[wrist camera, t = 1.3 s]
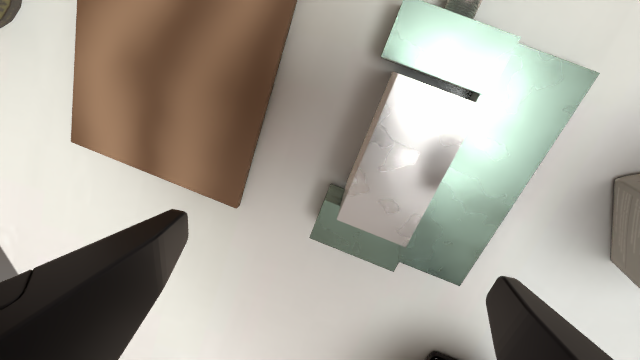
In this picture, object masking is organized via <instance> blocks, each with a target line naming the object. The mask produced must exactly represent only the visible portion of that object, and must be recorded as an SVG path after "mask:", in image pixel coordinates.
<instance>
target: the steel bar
mask: <svg viewBox="0 0 640 360" xmlns="http://www.w3.org/2000/svg"><path fill="white" fill-rule="evenodd" d="M481 107H482V105H480V104H478V103H475V102H472V101H470V100H467V99H464V98H462V97H459V96H457V95H454V94H451V93H449V92H446V91H443V90H441V89H438V88H435V87H433V86H430V85H427V84H425V83H422V82H420V81H417V80H414V79H412V78H409V77H406V76H404V75H401V74H398V73H396V72H392V74H391V76H390V79H389V81H388V84H387V86H386V88H385V91H384V93H383V96H382V98H381V100H380V103H379V105H378V108H377V110H376V112H375V115H374V117H373V120H372V122H371V125H370V127H369V129H368V132H367V134H366V137H365V139H364V141H363V144H362V146H361V149H360V151H359V153H358V156H357V158H356V161H355V163H354V165H353V168H352V170H351V173H350V175H349V177H348V180H347V182H346V186H345V190H344V193H343V197H342V201H341V205H340V208H339V212H338V216H337V220H339V221H341V222H344V223H346V224H349V225H351V226H354V227H356V228H359V229H361V230H364V231H366V232H369V233H371V234H374V235H376V236H379V237H381V238H384V239H386V240H389V241H391V242H394V243H396V244H399V245H401V246H404V247H406V246H407V244H408V242H409V240H410V238H411V237H412V235H413V233H414V231H415V229H416V227H417V225H418V224H419V222H420V220H421V218H422V216H423V214H424V213H425V211H426V209H427V207H428V205H429V203H430V201H431V200H432V198H433V196H434V194H435V192H436V190H437V189H438V187H439V185H440V183H441V181H442V179H443V177H444V176H445V174H446V172H447V170H448V168H449V166H450V165H451V163H452V161H453V159H454V157H455V155H456V153H457V152H458V150H459V148H460V146H461V144H462V142H463V141H464V139H465V137H466V135H467V133H468V131H469V129H470V128H471V126H472V124H473V122H474V120H475V118H476V116H477V115H478V113H479V111H480V109H481Z"/></svg>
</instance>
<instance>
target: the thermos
mask: <svg viewBox="0 0 640 360" xmlns="http://www.w3.org/2000/svg"><path fill="white" fill-rule="evenodd" d="M21 1H22V0H0V28H1V27H3V26H5V25H6V24H8V23H9V22H11V21H12V20H13V18H14V17H15V15H16V13H17V12H18V10H19V9H20V6H21Z"/></svg>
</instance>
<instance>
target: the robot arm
mask: <svg viewBox="0 0 640 360" xmlns="http://www.w3.org/2000/svg"><path fill="white" fill-rule="evenodd" d="M187 240H188V216H187V213H186V212H184V211H180V210H175V209H171V210H169V211H166V212H164V213H162V214H159V215H157V216H155V217H152V218H150V219H148V220H145V221H143V222H141V223H138V224H136V225H134V226H131V227H129V228H127V229H124V230H122V231H120V232H117V233H115V234H113V235H110V236H108V237H106V238H103V239H101V240H99V241H96V242H94V243H92V244H89V245H87V246H85V247H82V248H80V249H78V250H75V251H73V252H71V253H68V254H66V255H64V256H61V257H59V258H57V259H54V260H52V261H50V262H47V263H45V264H43V265H40V266H38V267H36V268H34V269H33V270H28V271H26V272H24V273H21V274H19V275H17V276H15V277H12V278H10V279H7V280H5V281H2V282H0V360H118V359H119V358H120V356H121V355H122V353H123V351H124V350H125V348H126V347H127V345H128V344H129V342H130V341H131V339H132V337H133V336H134V334H135V333H136V331H137V330H138V328H139V327H140V325H141V323H142V322H143V320H144V319H145V317H146V316H147V314H148V312H149V311H150V309H151V308H152V306H153V305H154V303H155V302H156V300H157V298H158V297H159V295H160V294H161V292H162V290H163V289H164V287H165V285H166V283H167V281H168V279H169V277H170V275H171V273H172V271H173V269H174V267H175V265H176V263H177V261H178V259H179V257H180V255H181V253H182V251H183V249H184V247H185V245H186V242H187ZM486 307H487V312H488V317H489V323H490V328H491V333H492V339H493V344H494V349H495V354H496V358H497V360H613V359H612V358H611V357H610V356H609V355H607V354H606V353H605V352H604V351H603V350H601V349H600V348H599V347H598V346H597V345H595V344H594V343H593V342H592V341H590V340H589V339H588V338H587V337H586V336H584V335H583V334H582V333H581V332H580V331H578V330H577V329H576V328H575V327H574V326H572V325H571V324H570V323H569V322H568V321H566V320H565V319H564V318H563V317H562V316H560V315H559V314H558V313H557V312H556V311H554V310H553V309H552V308H551V307H550V306H548V305H547V304H546V303H545V302H544V301H542V300H541V299H540V298H539V297H538V296H536V295H535V294H534V293H533V292H532V291H530V290H529V289H528V288H527V287H526V286H524V285H523V284H522V283H521V282H520V281H518V280H517V279H515V278H510V277H506V276H500V277H499V278H497V280H496V281H495V283H494V285H493V286H492V288H491V290H490V291H489V293H488V294H487V297H486ZM435 358H437V359H435ZM426 360H455V359H453V358H451V357H448V356H446V355H443V354H441V353H438V352H432V353H431V354H430V355H429V356H428V358H427V359H426Z"/></svg>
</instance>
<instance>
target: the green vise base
mask: <svg viewBox="0 0 640 360" xmlns="http://www.w3.org/2000/svg"><path fill="white" fill-rule="evenodd" d="M481 2H482V0H448V2H447V4H446V6H445V8H444V9H443V8H440V7H438V6H435V5H432V4H429V3H427V2H424V1H421V0H403V2H402V5H401V7H400V10H399V12H398V15H397V17H396V20H395V23H394V25H393V28H392V30H391V33H390V35H389V38H388V40H387V43H386V45H385V48H384V50H383V53H382V55H381V58H383V59H386V60H389V61H391V62H394V63H397V64H399V65H402V66H405V67H407V68H410V69H413V70H415V71H418V72H420V73H423V74H426V75H428V76H431V77H434V78H436V79H439V80H442V81H444V82H447V83H450V84H452V85H455V86H458V87H460V88H463V89H466V90H468V91H471V92H473V93H472V95H471V97H470V99H469V100H470V101H472V102H475V103H478V104H480V105H482V107H481V109H480V111H479V113H478V115H477V116H476V118H475V120H474V122H473V124H472V126H471V128H470V129H469V131H468V133H467V135H466V137H465V139H464V141H463V142H462V144H461V146H460V148H459V150H458V152H457V153H456V155H455V157H454V159H453V161H452V163H451V165H450V166H449V168H448V170H447V172H446V174H445V176H444V177H443V179H442V181H441V183H440V185H439V187H438V189H437V190H436V192H435V194H434V196H433V198H432V200H431V201H430V203H429V205H428V207H427V209H426V211H425V213H424V214H423V216H422V218H421V220H420V222H419V224H418V225H417V227H416V229H415V231H414V233H413V235H412V237H411V238H410V240H409V242H408V244H407V246H406V247H404V246H401V245H399V244H396V243H394V242H391V241H389V240H386V239H384V238H381V237H379V236H376V235H374V234H371V233H369V232H366V231H364V230H361V229H359V228H356V227H354V226H351V225H349V224H346V223H344V222H341V221H339V220H337V216H338V212H339V208H340V205H341V201H342V197H343V193H344V190H345V189H343V188H340V187H338V186H335V185H333V184H331V185H330V187H329V190H328V192H327V195H326V197H325V200H324V202H323V205H322V207H321V210H320V212H319V215H318V217H317V220H316V223H315V225H314V228H313V230H312V233H311V235H310V238H311V239H313V240H316V241H318V242H321V243H323V244H326V245H328V246H331V247H333V248H336V249H338V250H341V251H343V252H346V253H348V254H350V255H353V256H355V257H358V258H360V259H363V260H365V261H368V262H370V263H373V264H375V265H378V266H380V267H383V268H385V269H388V270H390V271H393V272H394V270H395V268H396V267H397V265H398V263H399V262H401V263H403V264H406V265H408V266H411V267H413V268H416V269H418V270H421V271H423V272H426V273H428V274H431V275H433V276H436V277H438V278H441V279H443V280H446V281H448V282H451V283H453V284H456V285H458V286H460V285H461V283H462V282H463V280H464V279H465V277H466V276H467V274H468V273H469V271H470V270H471V268H472V267H473V265H474V264H475V262H476V261H477V259H478V258H479V256H480V255H481V253H482V251H483V250H484V248H485V247H486V245H487V244H488V242H489V241H490V239H491V238H492V236H493V235H494V233H495V232H496V230H497V229H498V227H499V226H500V224H501V223H502V221H503V220H504V218H505V217H506V215H507V213H508V212H509V210H510V209H511V207H512V206H513V204H514V203H515V201H516V200H517V198H518V197H519V195H520V194H521V192H522V191H523V189H524V188H525V186H526V185H527V183H528V182H529V180H530V178H531V177H532V175H533V174H534V172H535V171H536V169H537V168H538V166H539V165H540V163H541V162H542V160H543V159H544V157H545V156H546V154H547V153H548V151H549V150H550V148H551V147H552V145H553V144H554V142H555V140H556V139H557V137H558V136H559V134H560V133H561V131H562V130H563V128H564V127H565V125H566V124H567V122H568V121H569V119H570V118H571V116H572V115H573V113H574V112H575V110H576V109H577V107H578V106H579V104H580V102H581V101H582V99H583V98H584V96H585V95H586V93H587V92H588V90H589V89H590V87H591V86H592V84H593V83H594V81H595V80H596V78H597V77H598V75H599V74H600V73H598V72H596V71H593V70H590V69H587V68H585V67H582V66H579V65H577V64H574V63H571V62H568V61H566V60H563V59H560V58H558V57H555V56H552V55H550V54H547V53H544V52H541V51H539V50H536V49H533V48H531V47H528V46H525V45H522V44H520V43H518V42H519V40H520V38H521V37H519V36H516V35H513V34H511V33H508V32H505V31H503V30H500V29H497V28H494V27H492V26H489V25H486V24H484V23H481V22H478V21H476V20H473V19H474V17H475V14H476V12H477V10H478V8H479V6H480V4H481Z"/></svg>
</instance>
